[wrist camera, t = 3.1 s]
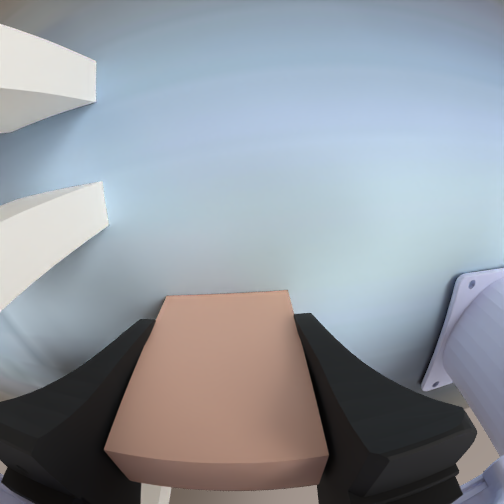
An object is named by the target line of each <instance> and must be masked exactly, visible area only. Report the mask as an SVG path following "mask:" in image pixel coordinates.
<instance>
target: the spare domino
mask: <svg viewBox="0 0 504 504" xmlns="http://www.w3.org/2000/svg"><path fill="white" fill-rule="evenodd" d="M155 321H156V322H155V325H154V327H153V329H152V332H151V334H150V336H149V338H148V340H147V342H146V344H145V345H144V348H143V350H142V352H141V355H140V357H139V360H138V362H137V364H136V367H135V369H134V372H133V374H132V376H131V379H130V381H129V384H128V386H127V389H126V391H125V394H124V396H123V399H122V401H121V404H120V407H119V409H118V412H117V414H116V417H115V420H114V422H113V425H112V428H111V431H110V433H109V436H108V439H107V442H106V444H105V447H104V451H105V452H106V453H107V454H108V456H109V457H110V458H111V459H112V461H113V462H114V463H115V464H116V465H117V467H118V468H119V469H120V470H121V471H122V472H123V473H124V475H125V476H126V477H127V478H128V479H129V480H130V481H134V482H139V483H145V484H151V485H158V486H165V487H174V488H183V489H196V490H214V491H254V490H255V491H256V490H274V489H286V488H294V487H304V486H311V485H318V484H319V482H320V479H321V477H322V474H323V471H324V468H325V465H326V462H327V460H328V457H329V453H328V449H327V444H326V440H325V436H324V431H323V427H322V423H321V419H320V415H319V410H318V406H317V402H316V398H315V394H314V390H313V386H312V382H311V378H310V374H309V370H308V366H307V362H306V358H305V354H304V350H303V346H302V342H301V340H300V337H299V335H298V331H297V328H296V324H295V320H294V312H293V308H292V304H291V301H290V297H289V293H288V290H282V291H266V292H248V293H228V294H204V295H172V296H166V299H165V301H164V303H163V305H162V307H161V309H160V312H159V314H158V316H157V318H156V320H155Z"/></svg>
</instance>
